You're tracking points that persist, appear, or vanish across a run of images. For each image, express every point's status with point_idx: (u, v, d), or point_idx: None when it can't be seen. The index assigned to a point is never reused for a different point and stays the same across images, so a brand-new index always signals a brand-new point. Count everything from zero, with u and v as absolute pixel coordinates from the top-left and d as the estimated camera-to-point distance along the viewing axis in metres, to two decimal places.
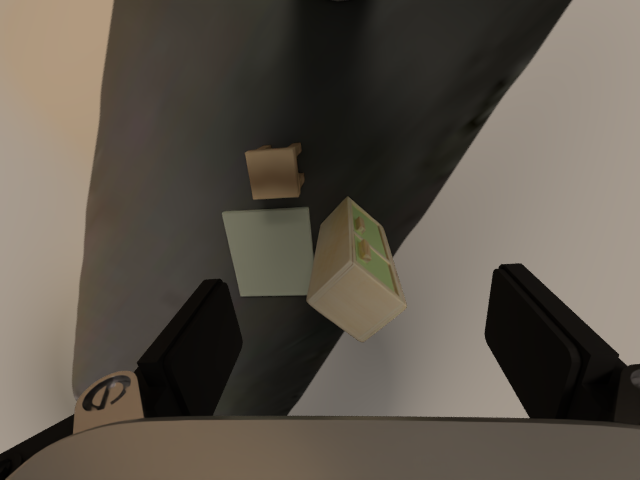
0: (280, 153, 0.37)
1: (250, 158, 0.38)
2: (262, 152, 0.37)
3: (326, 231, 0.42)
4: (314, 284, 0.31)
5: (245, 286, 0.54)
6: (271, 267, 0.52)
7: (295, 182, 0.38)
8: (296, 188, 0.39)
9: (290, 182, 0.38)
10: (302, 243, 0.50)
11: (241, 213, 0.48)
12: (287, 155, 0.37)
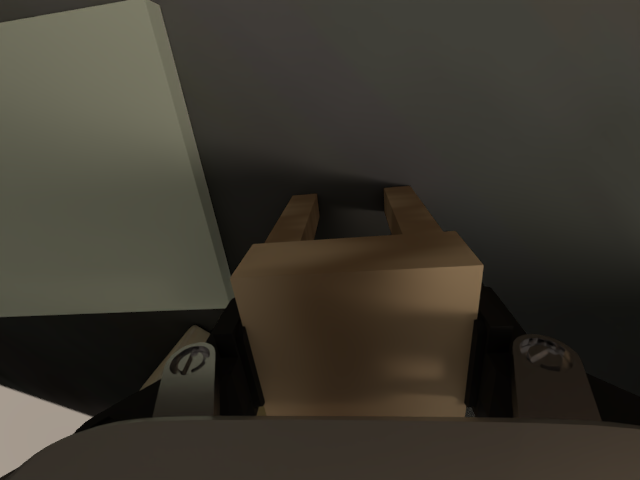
0: (452, 402, 0.09)
1: (447, 287, 0.07)
2: (468, 341, 0.08)
3: None
4: None
5: None
6: (1, 194, 0.15)
7: None
8: None
9: None
10: (122, 288, 0.17)
11: (167, 95, 0.13)
12: None
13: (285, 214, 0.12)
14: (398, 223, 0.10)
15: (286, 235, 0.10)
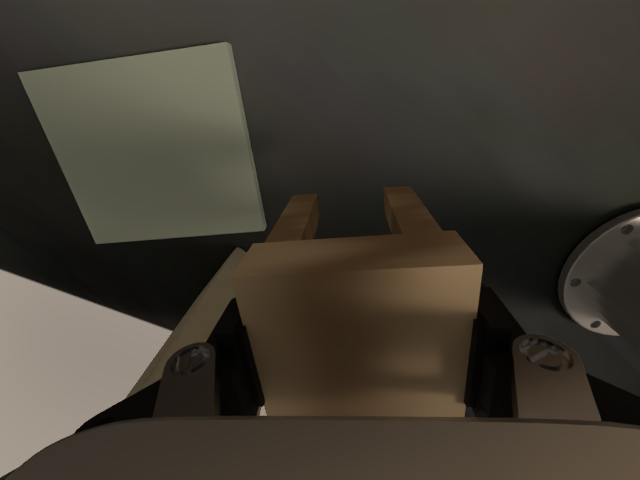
0: (451, 401, 0.09)
1: (447, 286, 0.07)
2: (468, 340, 0.08)
3: None
4: None
5: (52, 88, 0.23)
6: (124, 156, 0.24)
7: None
8: None
9: None
10: (194, 219, 0.26)
11: (234, 94, 0.22)
12: None
13: (285, 214, 0.12)
14: (398, 223, 0.10)
15: (286, 234, 0.10)
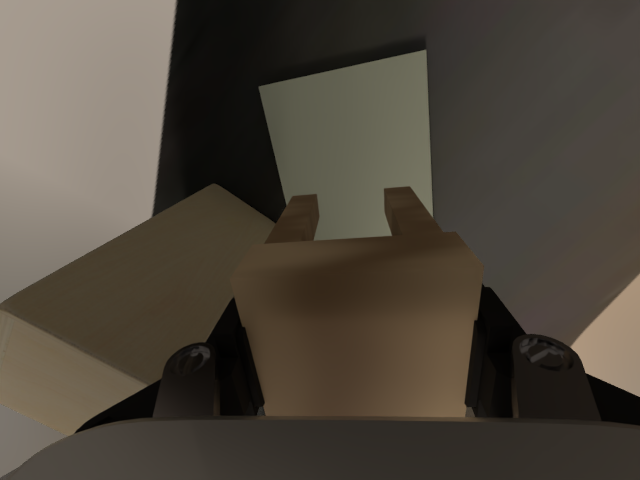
0: (452, 403, 0.09)
1: (447, 288, 0.07)
2: (469, 342, 0.08)
3: None
4: None
5: (411, 83, 0.25)
6: (353, 140, 0.27)
7: None
8: None
9: None
10: None
11: None
12: None
13: (285, 214, 0.12)
14: (398, 224, 0.10)
15: (286, 235, 0.10)
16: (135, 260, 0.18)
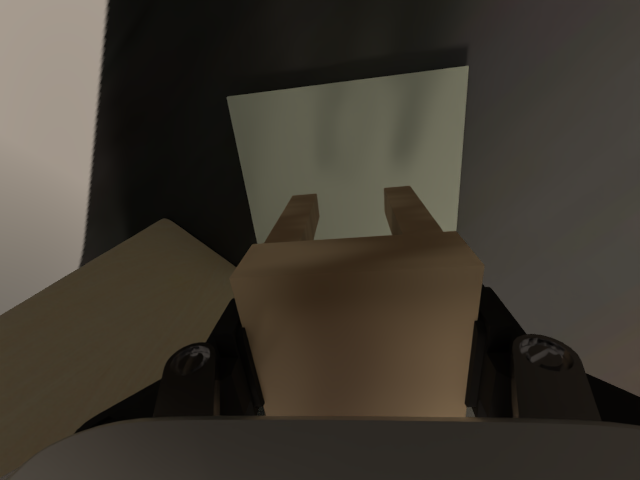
0: (452, 403, 0.09)
1: (448, 288, 0.07)
2: (469, 341, 0.08)
3: None
4: None
5: (442, 110, 0.18)
6: (354, 180, 0.20)
7: None
8: None
9: None
10: None
11: None
12: None
13: (285, 214, 0.12)
14: (398, 223, 0.10)
15: (285, 235, 0.10)
16: None
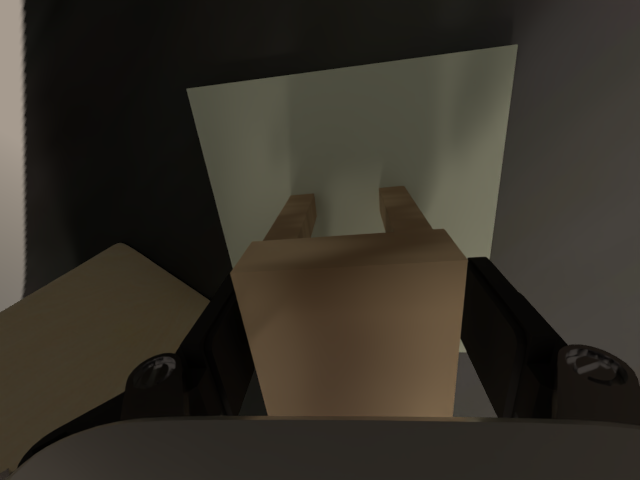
0: (441, 391, 0.09)
1: (434, 281, 0.08)
2: (455, 332, 0.08)
3: None
4: None
5: (477, 107, 0.13)
6: (357, 199, 0.15)
7: None
8: None
9: (323, 408, 0.10)
10: None
11: None
12: (429, 409, 0.09)
13: (283, 213, 0.13)
14: (391, 221, 0.11)
15: (283, 233, 0.11)
16: None
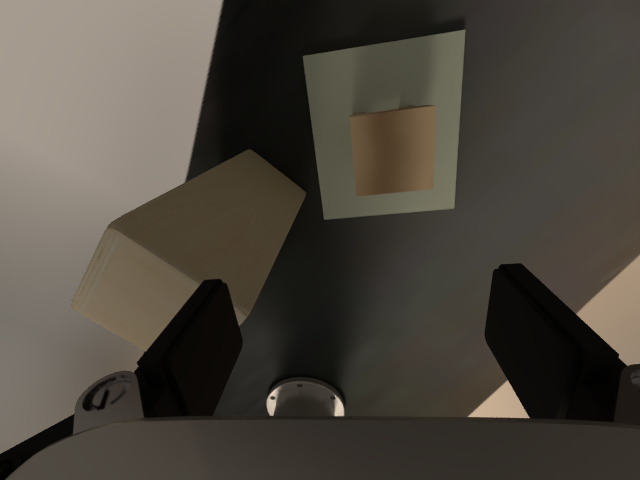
0: (428, 169, 0.23)
1: (424, 115, 0.21)
2: (433, 138, 0.22)
3: None
4: None
5: (448, 61, 0.27)
6: None
7: (380, 192, 0.24)
8: (370, 193, 0.24)
9: (380, 184, 0.24)
10: (332, 165, 0.31)
11: (422, 209, 0.33)
12: (424, 180, 0.23)
13: (354, 114, 0.27)
14: None
15: None
16: (201, 205, 0.19)
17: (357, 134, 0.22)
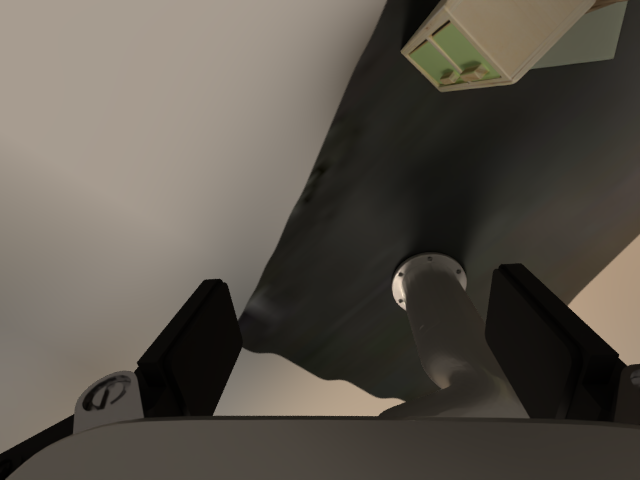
0: None
1: None
2: None
3: None
4: None
5: None
6: None
7: None
8: None
9: None
10: None
11: (585, 60, 0.38)
12: None
13: None
14: None
15: None
16: None
17: None
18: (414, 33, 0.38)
